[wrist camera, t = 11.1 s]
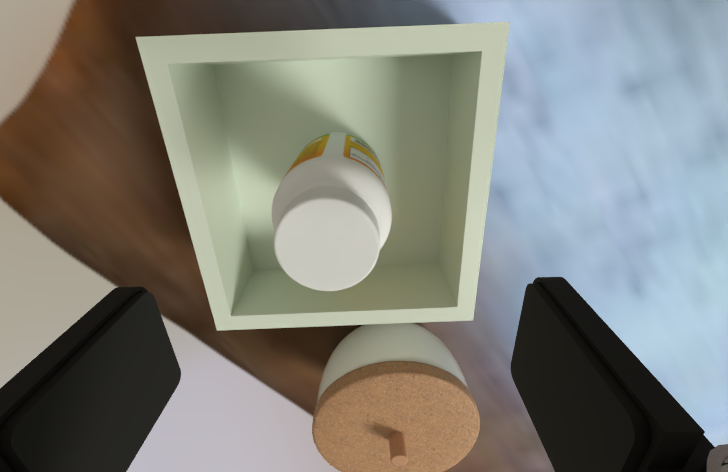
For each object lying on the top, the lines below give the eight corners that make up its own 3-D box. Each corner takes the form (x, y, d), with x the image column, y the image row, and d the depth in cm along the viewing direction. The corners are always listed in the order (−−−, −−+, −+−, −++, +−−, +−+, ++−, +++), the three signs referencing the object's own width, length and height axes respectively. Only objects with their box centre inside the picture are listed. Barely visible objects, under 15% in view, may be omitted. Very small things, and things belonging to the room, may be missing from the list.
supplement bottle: (296, 214, 23) (259, 305, 14) (293, 128, 21) (246, 174, 12) (379, 217, 23) (393, 309, 14) (385, 133, 21) (406, 181, 12)
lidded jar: (396, 408, 33) (410, 528, 24) (297, 358, 30) (274, 474, 21) (478, 335, 29) (528, 446, 20) (374, 270, 26) (383, 367, 18)
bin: (467, 34, 19) (509, 22, 14) (448, 267, 26) (473, 320, 21) (197, 45, 19) (135, 37, 14) (246, 275, 26) (217, 330, 21)
